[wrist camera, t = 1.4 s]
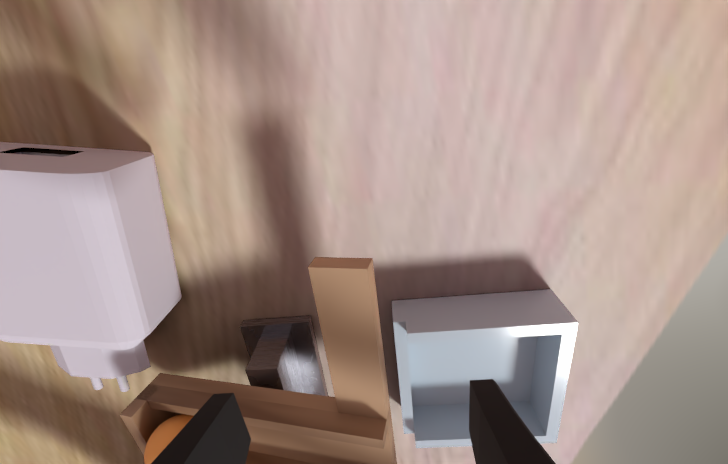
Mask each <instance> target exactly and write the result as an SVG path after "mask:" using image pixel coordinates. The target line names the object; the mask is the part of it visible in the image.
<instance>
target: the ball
mask: <svg viewBox="0 0 728 464" xmlns="http://www.w3.org/2000/svg"><path fill="white" fill-rule="evenodd" d="M192 417H193V416H192V415H186V414H181V415H176V416H174V417H171V418H169V419H167V420H166V421H164V422H163V423H162V424H160V425H159V426H158V427H157V428H156V429H155V430H154V432H153V433H152V435H151V436H150V438H149V440H148V442H147V444H146V448H145V452H144V463H145V464H151V463H152V462H153V461H154V460H155V459H156V457H157V456H158V455H159V454H160V453H161V452H162V451H163V450H164V449H165V448H166V447H167V445H168V444H169V443H170V442H171V441H172V440H173V439H174V438H175V436H176V435H177V434H178V433H179V432H180V431H181V430H182V429H183V428H184V426H185V425H186V424H187V423H188V422H189V421H190V420H191V419H192Z"/></svg>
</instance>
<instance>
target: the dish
mask: <svg viewBox="0 0 728 464" xmlns="http://www.w3.org/2000/svg"><path fill="white" fill-rule="evenodd" d="M392 314H393V327H394V337H395V347H396V357H397V368H398V378H399V388H400V398H401V408H402V418H403V428H404V434H408V433H415V442H416V448H432V447H459V446H472V442H471V438H470V433H469V395H470V380H485V379H493V380H494V381H495V382H496V383H497V384H498V386H499V387H500V389H501V390H502V392H503V393H504V395H505V396H506V398H507V399H508V401H509V402H510V404H511V405H512V407H513V408H514V410H515V411H516V412H517V414H518V415H519V417H520V418H521V419H522V421H523V422H524V423H525V425H526V426H527V428H528V429H529V430H530V432H531V433H532V434H533V436H534V437H535V438H536V439H537V441H538V442H539V443H557V438H558V432H559V427H560V421H561V416H562V410H563V405H564V399H565V394H566V388H567V383H568V377H569V371H570V366H571V360H572V355H573V349H574V344H575V338H576V333H577V327H578V322H577V320H576V319H575V318H574V317H573V315H572V314H571V313H570V312H569V311H568V309H567V308H566V307H565V306H564V304H563V303H562V302H561V301H560V300H559V298H558V297H557V296H556V295H555V293H554V292H553V291H552V290H551V289H546V290H532V291H519V292H505V293H491V294H477V295H463V296H450V297H436V298H422V299H408V300H394V301H392Z"/></svg>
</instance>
